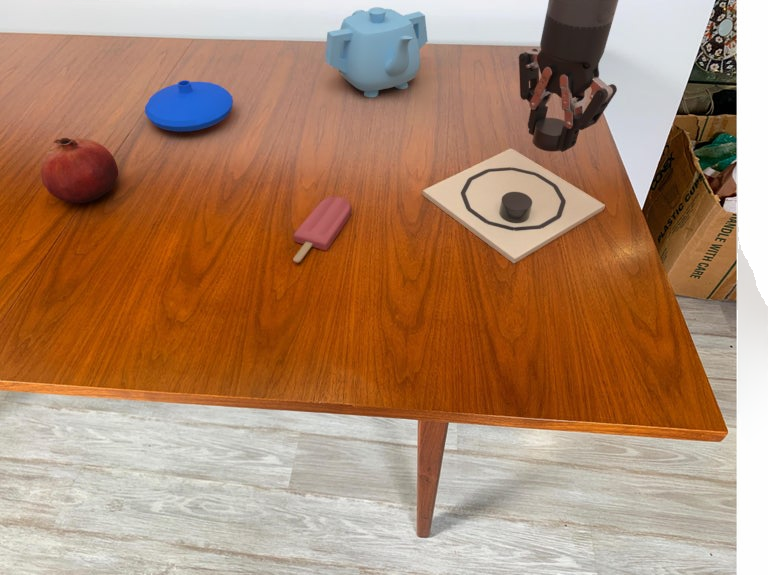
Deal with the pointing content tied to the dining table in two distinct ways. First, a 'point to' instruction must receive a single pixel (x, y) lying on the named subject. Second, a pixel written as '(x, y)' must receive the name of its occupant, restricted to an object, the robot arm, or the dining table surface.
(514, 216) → the dot left
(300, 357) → the dining table surface
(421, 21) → the teapot
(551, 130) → the dot right
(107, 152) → the fruit
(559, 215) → the board
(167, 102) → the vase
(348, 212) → the popsicle
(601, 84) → the robot arm
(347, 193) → the dining table surface
